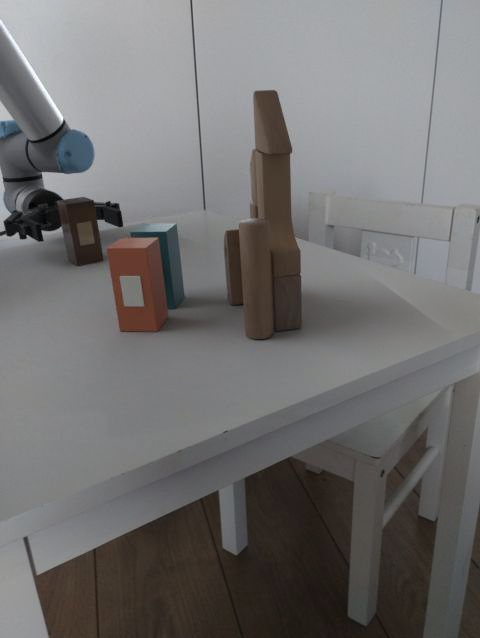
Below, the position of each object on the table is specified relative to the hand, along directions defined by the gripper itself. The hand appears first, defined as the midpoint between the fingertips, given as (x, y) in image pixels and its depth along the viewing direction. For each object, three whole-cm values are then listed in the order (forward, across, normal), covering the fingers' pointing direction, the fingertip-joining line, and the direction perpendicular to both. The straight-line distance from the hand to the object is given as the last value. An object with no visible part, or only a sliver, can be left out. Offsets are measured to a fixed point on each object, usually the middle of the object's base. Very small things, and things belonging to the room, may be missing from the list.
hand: (81, 225), depth 94 cm
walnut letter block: (-1, 0, -6) cm, 6 cm away
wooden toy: (+40, -7, -6) cm, 41 cm away
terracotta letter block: (+33, +5, -6) cm, 34 cm away
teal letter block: (+28, 0, -6) cm, 28 cm away
